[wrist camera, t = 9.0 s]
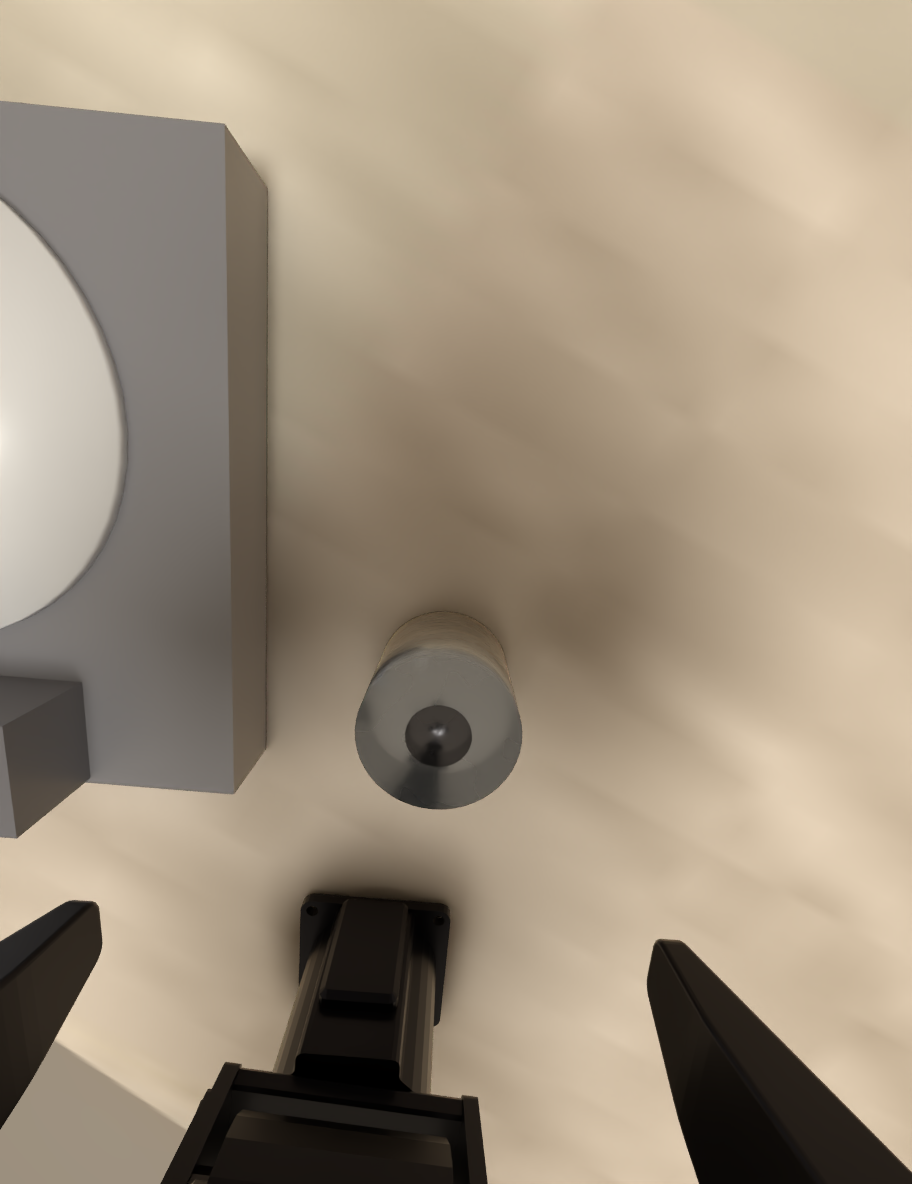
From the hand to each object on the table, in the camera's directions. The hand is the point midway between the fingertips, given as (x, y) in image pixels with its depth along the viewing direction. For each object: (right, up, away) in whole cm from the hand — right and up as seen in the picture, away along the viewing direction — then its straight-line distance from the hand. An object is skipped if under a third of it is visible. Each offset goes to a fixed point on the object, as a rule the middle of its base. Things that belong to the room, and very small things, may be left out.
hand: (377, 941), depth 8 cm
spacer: (+1, +2, +12) cm, 12 cm away
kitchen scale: (-16, +10, +10) cm, 21 cm away
